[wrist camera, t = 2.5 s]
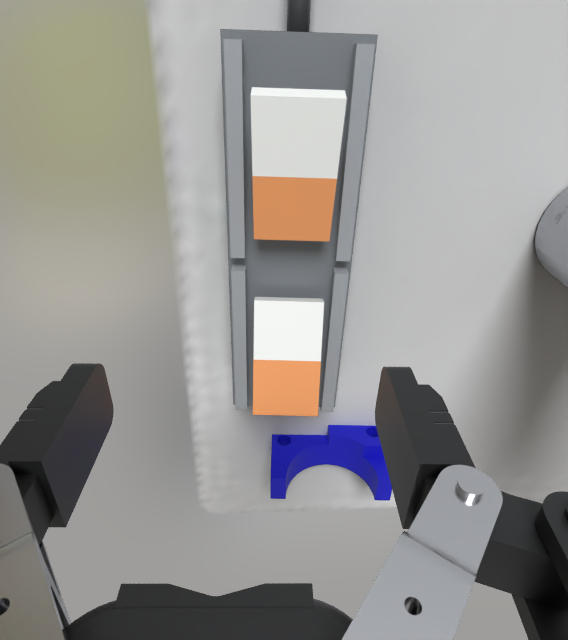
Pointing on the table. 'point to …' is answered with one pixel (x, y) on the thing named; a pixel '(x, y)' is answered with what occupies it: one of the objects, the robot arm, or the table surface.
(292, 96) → the rocker
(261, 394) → the block
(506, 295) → the table surface
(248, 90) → the box
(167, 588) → the robot arm
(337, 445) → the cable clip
